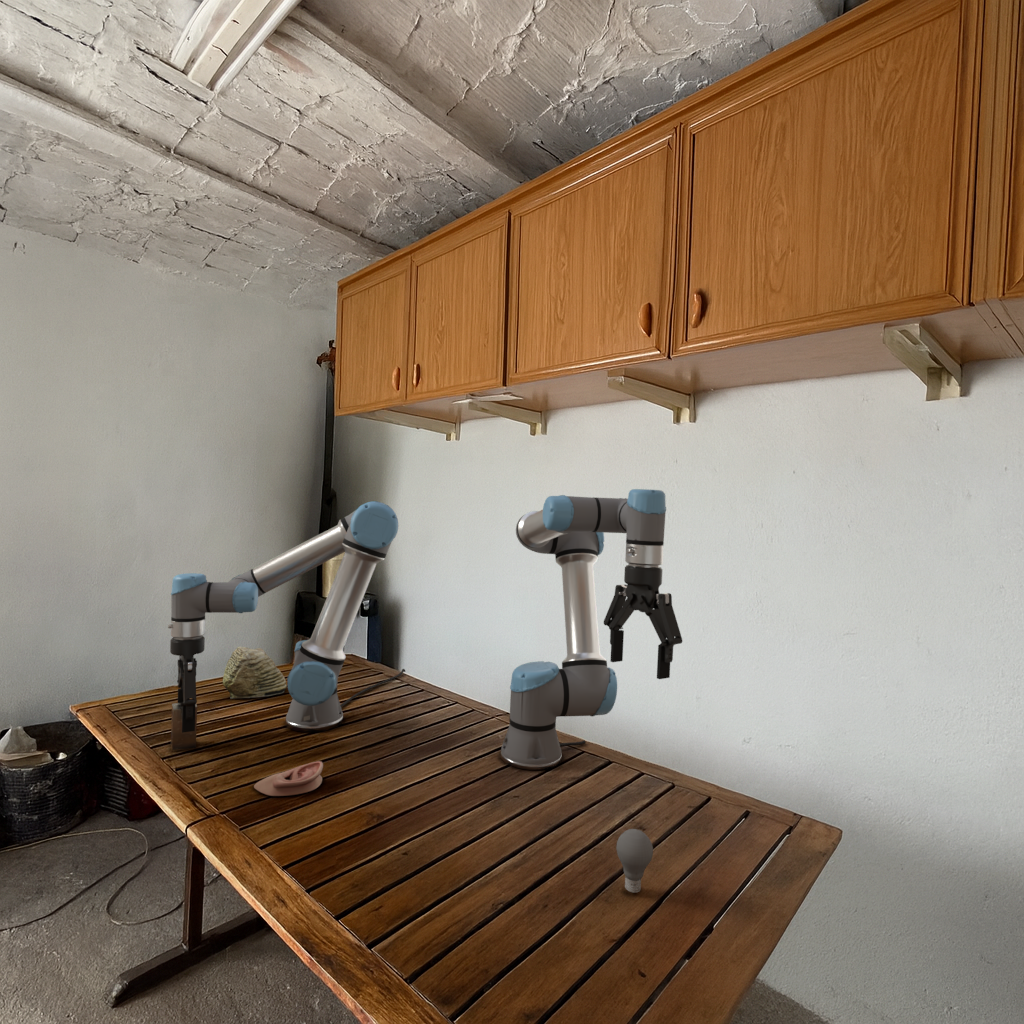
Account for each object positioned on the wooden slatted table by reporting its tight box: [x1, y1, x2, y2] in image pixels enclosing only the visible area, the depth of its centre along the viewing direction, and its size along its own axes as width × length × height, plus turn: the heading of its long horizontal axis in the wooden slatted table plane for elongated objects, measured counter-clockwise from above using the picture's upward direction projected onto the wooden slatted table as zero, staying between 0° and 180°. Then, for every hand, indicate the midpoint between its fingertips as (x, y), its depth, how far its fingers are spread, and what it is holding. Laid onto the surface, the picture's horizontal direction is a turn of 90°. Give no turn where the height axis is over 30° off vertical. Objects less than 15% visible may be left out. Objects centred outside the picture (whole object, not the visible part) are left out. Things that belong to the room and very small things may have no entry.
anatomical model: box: [253, 760, 324, 797], centre depth 138 cm, size 13×4×12 cm
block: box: [170, 702, 198, 753], centre depth 156 cm, size 5×5×10 cm
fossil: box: [222, 646, 288, 699], centre depth 198 cm, size 9×18×15 cm, turn 132°
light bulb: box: [615, 828, 654, 894], centre depth 106 cm, size 6×6×10 cm
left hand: (185, 722), depth 156 cm, fingers open, 13 cm apart
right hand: (638, 669), depth 129 cm, fingers open, 13 cm apart
